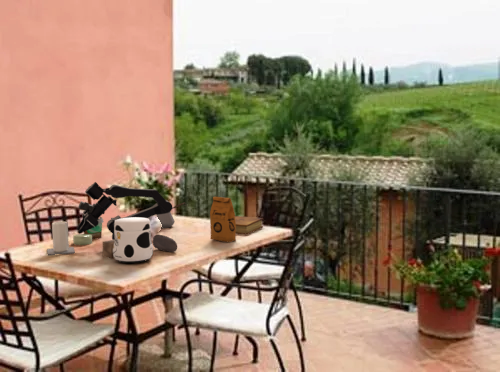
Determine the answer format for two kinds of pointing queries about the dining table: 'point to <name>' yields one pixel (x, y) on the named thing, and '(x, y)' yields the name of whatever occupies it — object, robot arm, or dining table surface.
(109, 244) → the walnut box
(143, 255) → the milk container
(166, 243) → the grey oval stone
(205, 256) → the dining table surface
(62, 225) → the tumbler
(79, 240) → the sage green dome
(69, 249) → the coaster
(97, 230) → the food container
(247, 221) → the diary
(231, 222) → the coffee package
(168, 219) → the coffee pot
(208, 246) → the dining table surface
